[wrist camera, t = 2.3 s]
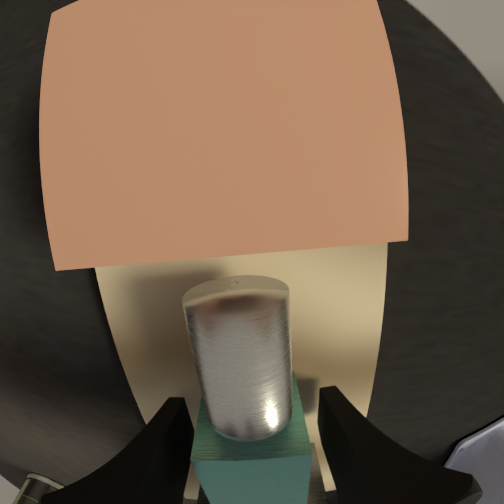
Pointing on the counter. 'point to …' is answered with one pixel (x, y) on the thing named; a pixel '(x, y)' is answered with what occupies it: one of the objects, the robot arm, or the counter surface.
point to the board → (301, 314)
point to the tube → (247, 393)
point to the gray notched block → (316, 491)
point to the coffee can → (35, 489)
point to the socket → (218, 130)
